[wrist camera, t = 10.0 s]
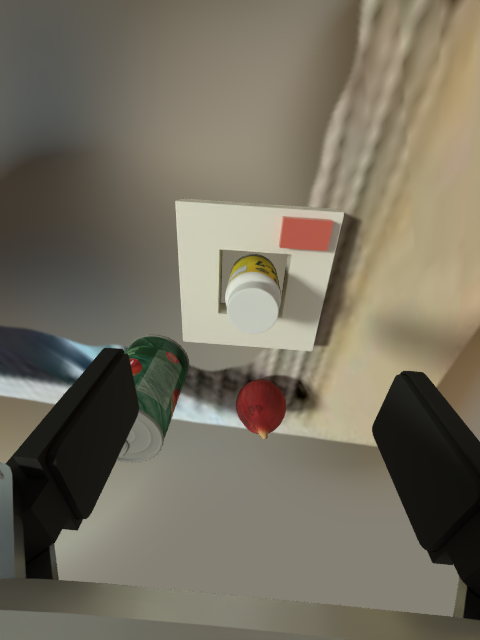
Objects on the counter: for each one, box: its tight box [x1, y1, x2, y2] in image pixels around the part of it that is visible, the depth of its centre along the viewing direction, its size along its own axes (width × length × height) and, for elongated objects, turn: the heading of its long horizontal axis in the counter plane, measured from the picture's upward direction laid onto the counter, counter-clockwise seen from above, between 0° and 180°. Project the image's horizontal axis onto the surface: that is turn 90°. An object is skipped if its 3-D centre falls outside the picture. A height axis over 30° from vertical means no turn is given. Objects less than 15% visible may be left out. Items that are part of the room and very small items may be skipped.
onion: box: [236, 380, 286, 439], centre depth 31 cm, size 6×6×8 cm
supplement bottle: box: [225, 254, 281, 334], centre depth 24 cm, size 5×5×8 cm
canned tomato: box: [116, 335, 189, 463], centre depth 29 cm, size 8×8×11 cm
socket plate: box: [175, 199, 344, 351], centre depth 26 cm, size 14×14×4 cm
